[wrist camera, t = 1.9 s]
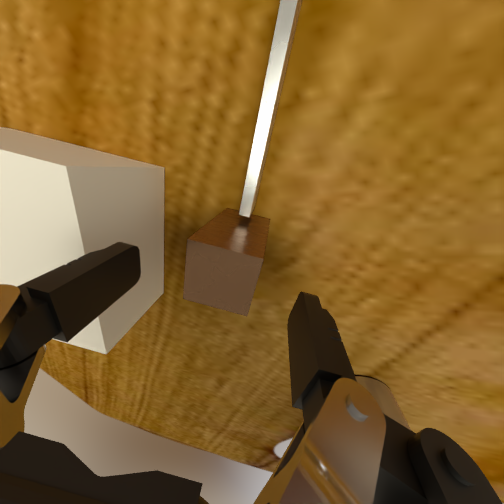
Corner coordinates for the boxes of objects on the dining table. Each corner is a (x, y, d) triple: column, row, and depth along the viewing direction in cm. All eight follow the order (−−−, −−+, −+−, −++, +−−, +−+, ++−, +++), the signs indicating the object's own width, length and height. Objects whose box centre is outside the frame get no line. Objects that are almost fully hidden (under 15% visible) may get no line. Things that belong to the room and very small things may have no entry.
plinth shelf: (163, 292, 22) (106, 354, 14) (54, 262, 22) (-55, 308, 15) (164, 167, 16) (66, 166, 8) (13, 129, 16) (-207, 95, 9)
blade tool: (259, 257, 18) (247, 316, 11) (221, 246, 18) (183, 298, 11) (332, -5, 10) (456, -406, 3) (264, -21, 10) (234, -444, 3)
